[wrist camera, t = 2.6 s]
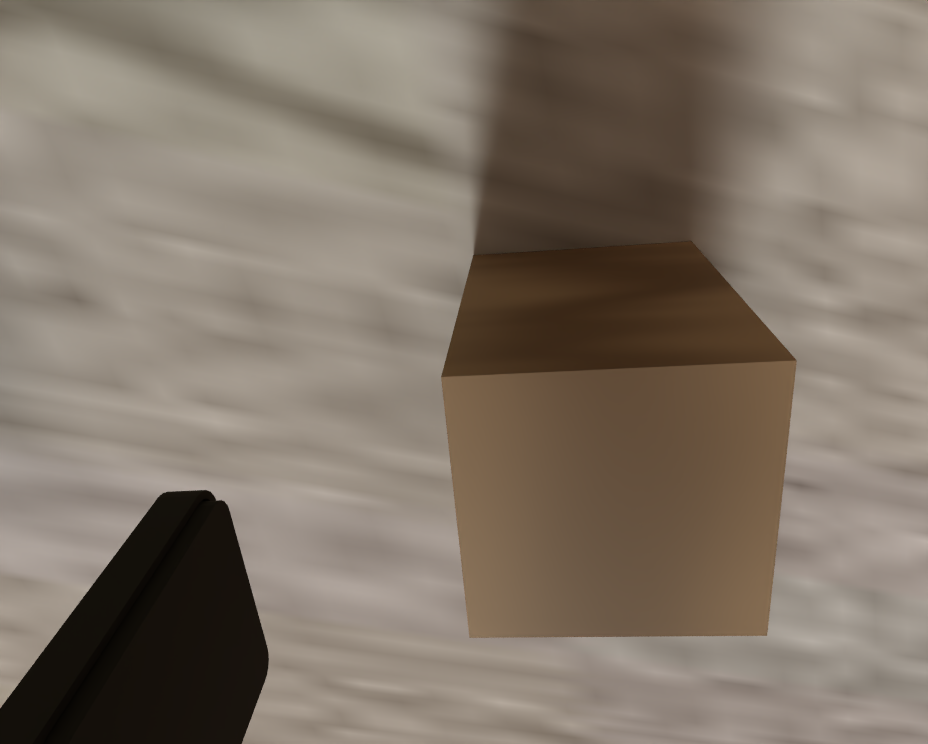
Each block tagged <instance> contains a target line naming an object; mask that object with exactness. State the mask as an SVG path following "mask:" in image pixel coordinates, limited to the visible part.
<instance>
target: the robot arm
mask: <svg viewBox="0 0 928 744" xmlns="http://www.w3.org/2000/svg"><path fill="white" fill-rule="evenodd" d="M268 661H269V658H268V649H267V645H266V641H265V637H264V634H263V630H262V627H261V623H260V619H259V616H258V612H257V608H256V605H255V601H254V598H253V594H252V590H251V587H250V583H249V580H248V576H247V572H246V569H245V565H244V562H243V558H242V554H241V551H240V547H239V543H238V540H237V536H236V533H235V529H234V525H233V522H232V518H231V515H230V511H229V508H228V506H227V504H226V503H225V502H224V501H222V500H221V501H216V499H215V497H214V495H213V494H212V493H211V492H210V491H207V490H198V491H176V492H166V493H163V494H162V495H160V496H159V497H158V498H157V500H156V501H155V503H154V504H153V505H152V507H151V508H150V509H149V511H148V512H147V513H146V515H145V516H144V517H143V519H142V520H141V521H140V523H139V524H138V525H137V527H136V528H135V529H134V531H133V532H132V533H131V535H130V536H129V537H128V539H127V540H126V541H125V543H124V544H123V545H122V547H121V548H120V549H119V551H118V552H117V553H116V555H115V556H114V557H113V559H112V560H111V561H110V563H109V564H108V565H107V567H106V568H105V569H104V571H103V572H102V573H101V575H100V576H99V577H98V579H97V580H96V581H95V583H94V584H93V585H92V587H91V588H90V589H89V591H88V592H87V593H86V595H85V596H84V597H83V599H82V600H81V601H80V603H79V604H78V605H77V607H76V608H75V609H74V611H73V612H72V613H71V615H70V616H69V617H68V619H67V620H66V621H65V623H64V624H63V625H62V627H61V628H60V629H59V631H58V632H57V633H56V635H55V636H54V637H53V639H52V640H51V641H50V643H49V644H48V645H47V647H46V648H45V649H44V651H43V652H42V653H41V655H40V656H39V657H38V659H37V660H36V661H35V663H34V664H33V665H32V667H31V668H30V669H29V671H28V672H27V673H26V675H25V676H24V677H23V679H22V680H21V682H20V683H19V684H18V686H17V687H16V688H15V690H14V691H13V692H12V694H11V695H10V696H9V698H8V699H7V700H6V702H5V703H4V704H3V706H2V707H1V708H0V744H242V741H243V738H244V736H245V733H246V730H247V728H248V725H249V722H250V720H251V717H252V714H253V712H254V709H255V706H256V703H257V701H258V698H259V695H260V693H261V690H262V687H263V685H264V682H265V679H266V676H267V671H268Z"/></svg>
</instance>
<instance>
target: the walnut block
mask: <svg viewBox="0 0 928 744" xmlns="http://www.w3.org/2000/svg"><path fill="white" fill-rule="evenodd" d="M796 362H797V360H796V359H795V358H794V357H793V356H792V355H791V354H790V352H789V351H788V350H787V349H786V348H785V347H784V346H783V344H782V343H781V342H780V341H779V340H778V339H777V338H776V337H775V335H774V334H773V333H772V332H771V331H770V330H769V329H768V327H767V326H766V325H765V324H764V323H763V322H762V321H761V320H760V318H759V317H758V316H757V315H756V314H755V313H754V312H753V310H752V309H751V308H750V307H749V306H748V305H747V304H746V303H745V301H744V300H743V299H742V298H741V297H740V296H739V295H738V293H737V292H736V291H735V290H734V289H733V288H732V287H731V286H730V284H729V283H728V282H727V281H726V280H725V279H724V278H723V276H722V275H721V274H720V273H719V272H718V271H717V270H716V269H715V267H714V266H713V265H712V264H711V263H710V262H709V261H708V259H707V258H706V257H705V256H704V255H703V254H702V253H701V252H700V250H699V249H698V248H697V247H696V246H695V245H694V244H693V242H692V241H687V242H672V243H656V244H641V245H625V246H610V247H594V248H579V249H564V250H548V251H533V252H517V253H502V254H486V255H473V259H472V262H471V266H470V270H469V274H468V278H467V281H466V285H465V289H464V293H463V297H462V300H461V304H460V308H459V312H458V316H457V319H456V323H455V327H454V331H453V335H452V338H451V342H450V346H449V350H448V353H447V357H446V361H445V365H444V369H443V372H442V376H441V379H442V388H443V397H444V407H445V416H446V425H447V434H448V443H449V453H450V462H451V471H452V480H453V489H454V499H455V508H456V517H457V526H458V535H459V545H460V554H461V563H462V572H463V581H464V590H465V600H466V609H467V618H468V627H469V636H470V638H489V637H632V636H767V631H768V621H769V612H770V603H771V594H772V584H773V575H774V566H775V556H776V547H777V538H778V529H779V519H780V510H781V501H782V491H783V482H784V473H785V464H786V454H787V445H788V436H789V427H790V417H791V408H792V399H793V389H794V380H795V371H796Z"/></svg>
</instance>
